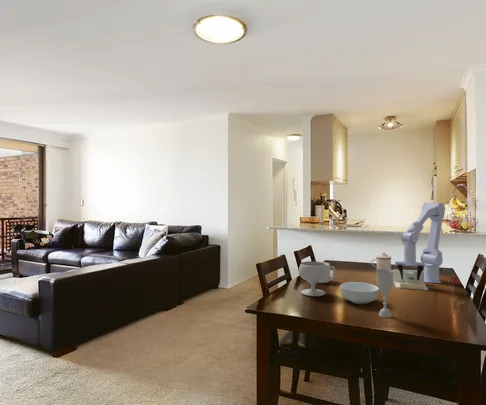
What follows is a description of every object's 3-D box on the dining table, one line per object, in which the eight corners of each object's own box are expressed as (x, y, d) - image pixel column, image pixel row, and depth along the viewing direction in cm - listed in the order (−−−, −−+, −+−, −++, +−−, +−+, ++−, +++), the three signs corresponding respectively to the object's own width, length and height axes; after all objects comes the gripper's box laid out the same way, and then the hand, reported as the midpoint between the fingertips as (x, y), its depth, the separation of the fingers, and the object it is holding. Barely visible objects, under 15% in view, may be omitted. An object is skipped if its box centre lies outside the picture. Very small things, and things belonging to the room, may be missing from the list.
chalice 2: (390, 312, 141) (389, 268, 140) (398, 317, 134) (397, 272, 134) (372, 312, 140) (372, 269, 140) (379, 318, 134) (379, 272, 133)
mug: (310, 282, 191) (310, 265, 191) (311, 278, 201) (311, 261, 201) (335, 283, 188) (335, 265, 187) (334, 279, 198) (334, 262, 198)
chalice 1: (315, 288, 179) (315, 260, 179) (333, 295, 166) (333, 264, 166) (293, 291, 173) (293, 262, 173) (310, 299, 160) (309, 267, 160)
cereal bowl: (353, 309, 145) (353, 292, 145) (333, 298, 161) (333, 283, 161) (387, 305, 150) (387, 289, 150) (364, 294, 166) (364, 280, 166)
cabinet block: (405, 282, 186) (404, 271, 186) (413, 283, 185) (413, 272, 185) (407, 287, 177) (407, 275, 177) (415, 287, 176) (415, 276, 176)
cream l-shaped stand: (393, 281, 190) (393, 269, 190) (423, 283, 185) (423, 271, 185) (396, 287, 178) (395, 274, 177) (428, 290, 173) (428, 276, 172)
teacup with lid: (391, 269, 221) (391, 252, 221) (391, 272, 213) (391, 254, 213) (371, 268, 226) (371, 251, 226) (371, 271, 217) (371, 253, 217)
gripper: (395, 254, 180) (396, 280, 180) (426, 256, 175) (426, 282, 176) (394, 252, 187) (394, 277, 187) (424, 253, 182) (424, 279, 182)
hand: (410, 279), depth 182 cm, fingers open, 7 cm apart
